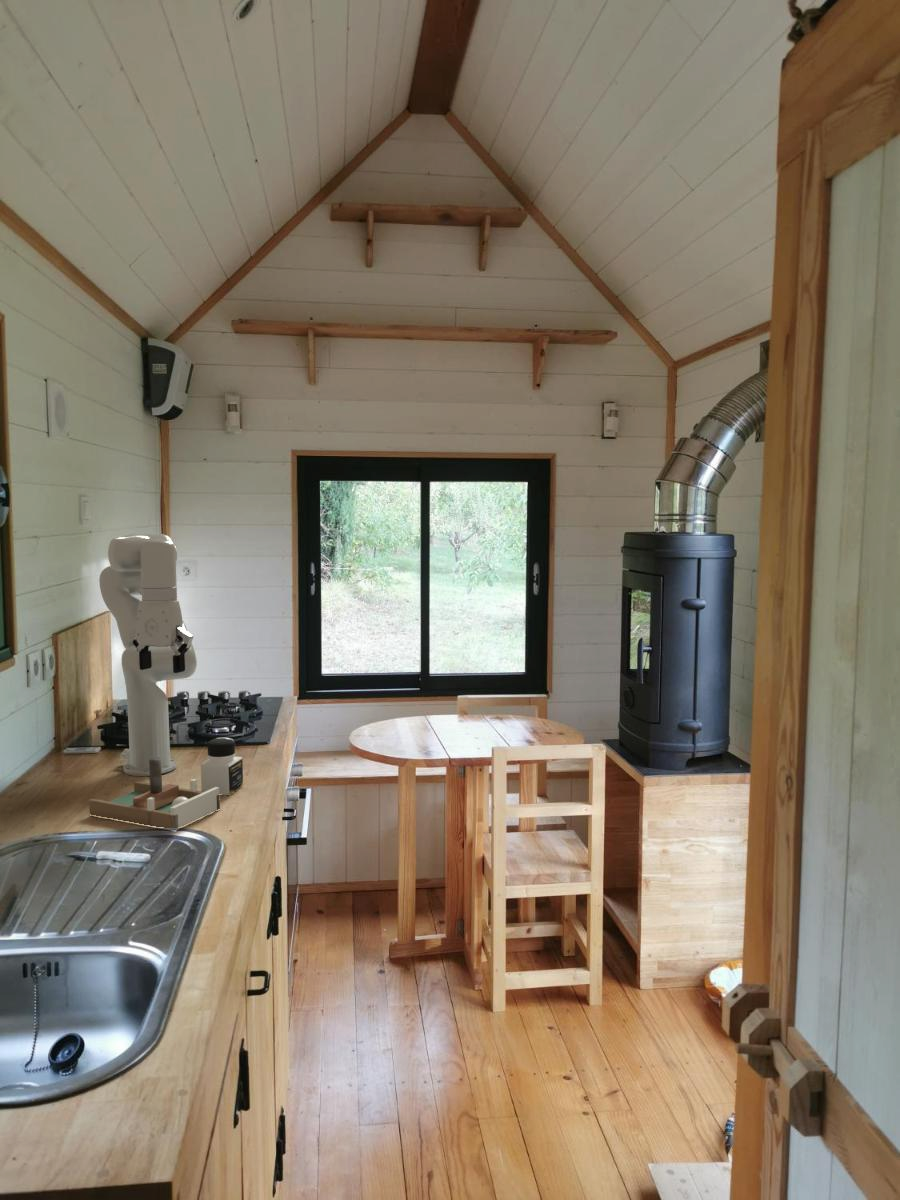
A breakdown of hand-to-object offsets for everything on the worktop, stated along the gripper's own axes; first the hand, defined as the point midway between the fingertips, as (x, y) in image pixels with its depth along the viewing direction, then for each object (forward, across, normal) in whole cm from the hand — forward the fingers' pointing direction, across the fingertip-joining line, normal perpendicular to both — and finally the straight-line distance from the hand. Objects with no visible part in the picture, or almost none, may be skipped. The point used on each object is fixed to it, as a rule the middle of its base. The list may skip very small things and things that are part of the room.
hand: (162, 670), depth 197 cm
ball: (+26, +15, -12) cm, 32 cm away
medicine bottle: (+28, +11, +6) cm, 31 cm away
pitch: (+28, +8, -12) cm, 32 cm away
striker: (+26, +8, -12) cm, 30 cm away
